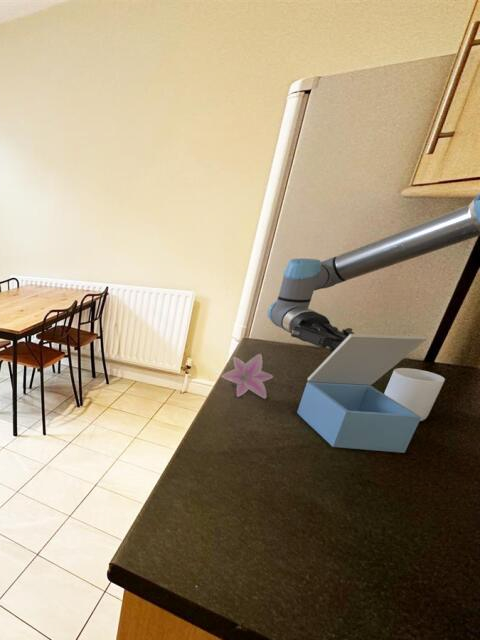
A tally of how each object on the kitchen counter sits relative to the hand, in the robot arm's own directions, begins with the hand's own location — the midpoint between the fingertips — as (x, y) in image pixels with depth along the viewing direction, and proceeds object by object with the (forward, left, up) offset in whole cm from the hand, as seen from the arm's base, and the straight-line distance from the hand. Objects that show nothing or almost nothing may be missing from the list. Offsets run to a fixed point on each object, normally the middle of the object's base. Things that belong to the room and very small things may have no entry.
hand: (360, 353), depth 89 cm
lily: (+20, -4, -17) cm, 27 cm away
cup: (-9, -18, -17) cm, 26 cm away
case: (-2, +3, -17) cm, 17 cm away
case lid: (-1, +1, -2) cm, 2 cm away
